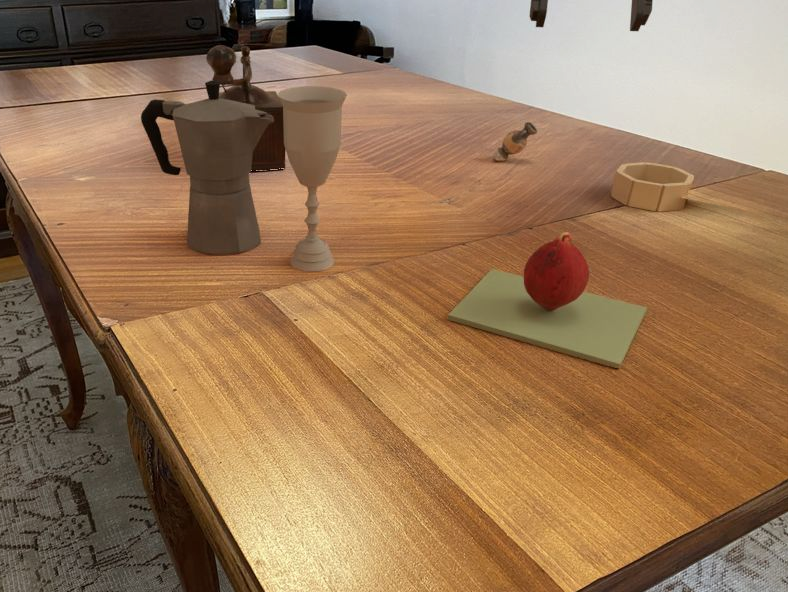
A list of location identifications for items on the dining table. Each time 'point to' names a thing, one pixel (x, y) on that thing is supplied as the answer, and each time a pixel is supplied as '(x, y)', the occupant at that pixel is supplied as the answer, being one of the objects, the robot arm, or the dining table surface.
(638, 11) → the robot arm
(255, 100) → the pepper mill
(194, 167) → the coffeepot
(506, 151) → the vase
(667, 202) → the octagonal bowl
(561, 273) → the onion
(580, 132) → the dining table surface
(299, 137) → the chalice
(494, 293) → the mat
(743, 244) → the dining table surface
